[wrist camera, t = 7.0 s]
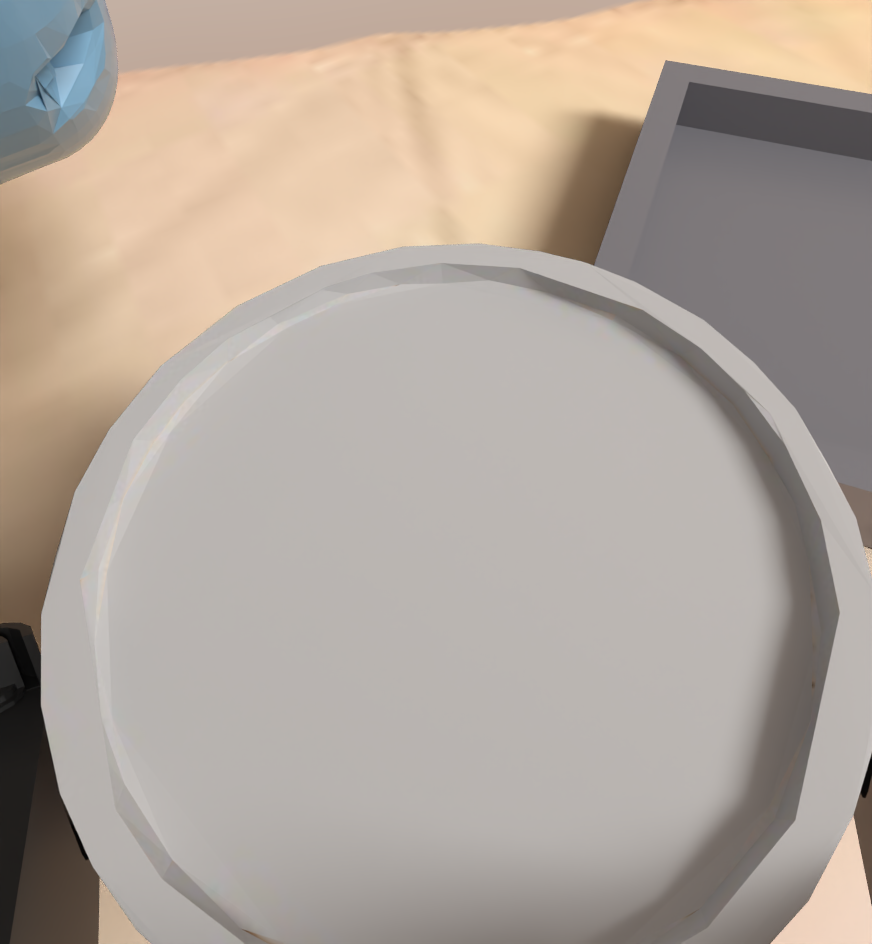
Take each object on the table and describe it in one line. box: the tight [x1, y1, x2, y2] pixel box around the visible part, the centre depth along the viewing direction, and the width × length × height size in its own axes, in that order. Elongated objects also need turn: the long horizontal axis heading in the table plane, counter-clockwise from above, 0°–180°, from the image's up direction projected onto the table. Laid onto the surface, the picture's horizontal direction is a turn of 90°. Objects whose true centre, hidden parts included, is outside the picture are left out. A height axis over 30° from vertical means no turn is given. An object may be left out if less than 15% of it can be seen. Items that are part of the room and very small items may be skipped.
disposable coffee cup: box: [41, 244, 872, 944], centre depth 12 cm, size 10×10×12 cm
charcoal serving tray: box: [594, 61, 872, 548], centre depth 21 cm, size 18×18×3 cm
